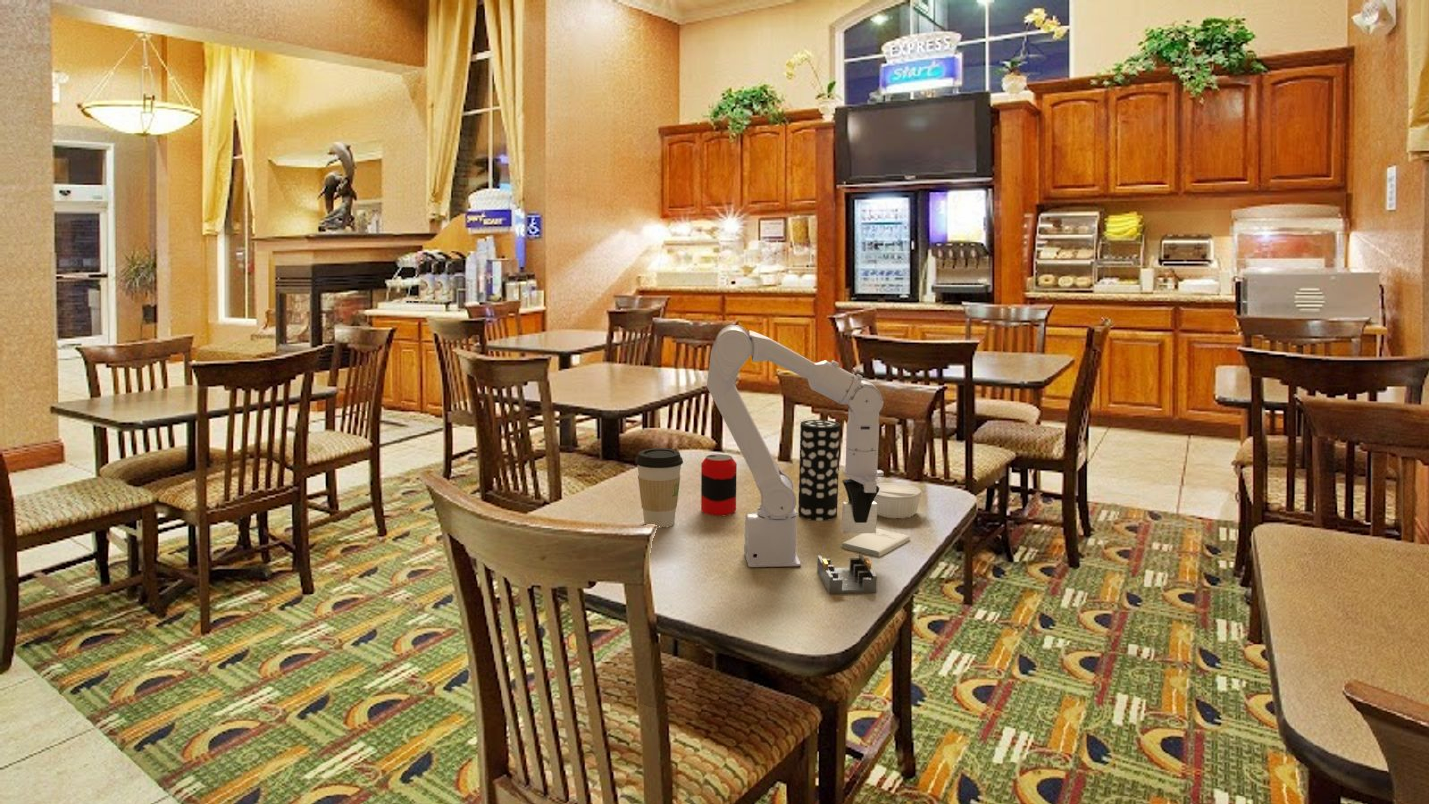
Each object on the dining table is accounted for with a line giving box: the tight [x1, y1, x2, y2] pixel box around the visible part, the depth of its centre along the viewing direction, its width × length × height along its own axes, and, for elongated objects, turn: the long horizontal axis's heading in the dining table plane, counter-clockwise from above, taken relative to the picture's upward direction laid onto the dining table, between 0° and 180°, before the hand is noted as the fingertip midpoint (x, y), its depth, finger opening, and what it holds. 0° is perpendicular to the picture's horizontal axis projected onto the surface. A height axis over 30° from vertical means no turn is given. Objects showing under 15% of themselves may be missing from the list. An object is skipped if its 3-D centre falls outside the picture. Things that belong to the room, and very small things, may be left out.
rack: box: [816, 554, 878, 595], centre depth 158 cm, size 8×10×4 cm
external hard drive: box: [840, 527, 911, 558], centre depth 178 cm, size 2×8×12 cm
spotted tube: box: [797, 419, 841, 522], centre depth 194 cm, size 8×8×20 cm
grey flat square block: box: [841, 501, 878, 535], centre depth 167 cm, size 6×2×6 cm, turn 95°
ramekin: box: [873, 482, 922, 519], centre depth 198 cm, size 11×11×5 cm
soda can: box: [700, 453, 738, 517], centre depth 197 cm, size 8×8×12 cm
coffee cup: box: [634, 447, 684, 528], centre depth 188 cm, size 10×10×15 cm
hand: (859, 520), depth 167 cm, fingers closed on grey flat square block, 2 cm apart
